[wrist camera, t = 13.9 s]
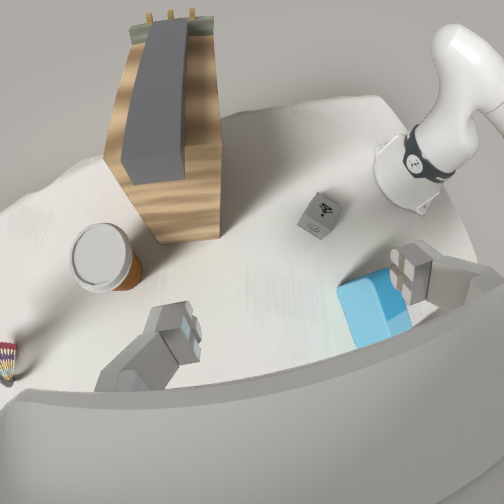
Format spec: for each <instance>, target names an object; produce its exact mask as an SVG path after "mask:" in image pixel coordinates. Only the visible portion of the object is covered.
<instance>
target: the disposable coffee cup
mask: <svg viewBox="0 0 504 504" xmlns="http://www.w3.org/2000/svg"><path fill="white" fill-rule="evenodd" d="M70 267H71V271H72V273H73V275H74V277H75V280H76V281H77V282H78V284H79V285H80V286H81V287H82V288H84V289H85V290H87V291H89V292H92V293H106V292H109V291H126V290H130V289H132V288H134V287H135V286H136V285H137V284H138V283H139V281H140V279H141V276H142V267H141V264H140V262H139V260H138V259H137V257H136V255H135V254H134V252H133V250H132V247H131V243H130V240H129V238H128V237H127V235H126V234H125V232H124V231H123V230H122V229H120V228H119V227H118V226H116V225H113V224H110V223H98V224H93V225H90V226H88V227H86V228H85V229H84V230H82V231H81V232H80V233H79V234H78V236H77V237H76V238H75V240H74V242H73V244H72V247H71V251H70Z"/></svg>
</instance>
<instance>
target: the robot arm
mask: <svg viewBox="0 0 504 504" xmlns="http://www.w3.org/2000/svg"><path fill="white" fill-rule="evenodd" d="M430 47H431V50H430V51H431V57H432V61H433V63H434V66H435V68H436V71H437V74H438V79H439V94H438V98H437V101H436V103H435V105H434V107H433V108H432V110H431V111H430V112H429V114H428V115H427V116H426V117H425V119H424V120H423V121H422V122H421V123H420V124H418V125H416V126H415V127H413V128H412V129H411V130H410V131H409V132H408V133H406V134H404V135H402V134H400V135H397V136H395V137H394V138H393V139H392V140H391V141H390V142H389V143H388V144H381V145H377V146H376V147H375V148H374V153H375V157H376V160H375V165H374V171H375V176H376V180H377V182H378V184H379V186H380V188H381V190H382V191H383V192H384V194H385V195H386V196H387V197H388V198H389V199H390V200H391V201H392V202H393V203H395V204H396V205H398V206H400V207H402V208H405V209H410V210H413V211H415V212H416V213H418V214H419V215H424V214H425V213H426V211H427V210H428V208H429V206H430V205H431V203H432V201H433V200H434V198H435V196H437V195H438V194H439V193H440V189H441V187H442V185H443V183H444V181H445V180H448V179H449V178H450V177H451V176H452V175H453V174H454V173H455V171H456V169H458V168H459V167H460V166H462V165H463V164H464V163H465V162H467V161H468V160H470V159H471V158H472V157H473V156H475V154H476V153H477V151H478V148H479V135H478V132H477V128H476V125H475V123H474V121H473V118H472V114H473V113H474V112H475V111H477V110H479V111H480V112H481V113H483V114H484V116H485V117H486V118H487V119H488V120H489V121H490V122H491V123H492V125H493V126H494V127H495V128H496V129H497V131H498V132H499V133H500V134H501V135H502V136H503V138H504V59H503V58H502V57H501V56H500V55H499V54H498V53H497V52H496V51H495V50H494V49H493V48H492V47H491V46H490V45H489V44H488V43H487V42H486V41H485V40H484V39H482V38H481V37H479V36H478V35H476V34H475V33H474V32H472V31H470V30H469V29H467V28H466V27H464V26H462V25H460V24H448V25H445V26H443V27H441V28H440V29H438V30H437V31H436V33H435V34H434V36H433V38H432V41H431V46H430ZM390 259H391V261H392V262H393V264H392V266H391V267H390V279H391V282H392V284H393V286H394V287H395V289H396V290H399V291H401V292H402V297H403V298H404V299H405V301H406V302H407V303H408V304H409V305H413V304H415V303H418V302H421V301H424V300H426V301H428V302H430V303H432V304H434V305H436V306H438V307H440V308H442V309H444V310H446V311H448V313H446V314H444V315H442V316H440V317H437V318H435V319H433V320H431V321H429V322H426V323H424V324H422V325H419V326H417V327H415V328H412V329H410V330H408V331H405V332H403V333H400V334H398V335H395V336H392V337H390V338H387V339H384V340H382V341H379V342H376V343H373V344H371V345H368V346H365V347H362V348H359V349H356V350H353V351H350V352H347V353H344V354H340V355H337V356H334V357H331V358H327V359H324V360H320V361H317V362H313V363H309V364H306V365H302V366H298V367H294V368H290V369H286V370H282V371H277V372H273V373H268V374H264V375H259V376H254V377H249V378H244V379H238V380H232V381H227V382H220V383H214V384H207V385H200V386H192V387H183V388H174V389H164V388H165V387H166V385H167V384H168V382H169V381H170V380H171V378H172V377H173V375H174V374H175V372H176V371H177V369H178V368H179V365H184V364H190V363H196V362H200V352H201V348H200V346H199V343H200V342H201V339H202V334H201V327H200V324H199V321H198V319H197V318H196V317H195V316H193V315H192V312H193V308H192V306H191V304H190V302H188V301H183V302H178V303H173V304H167V305H162V306H157V307H153V308H151V310H150V313H149V316H148V319H147V322H146V325H145V329H144V332H143V335H139V336H138V337H137V338H136V339H135V340H134V341H132V342H131V343H130V344H129V345H128V346H127V347H126V348H125V349H124V350H123V351H122V352H121V353H120V354H119V355H118V356H117V357H115V358H114V359H113V360H112V361H111V362H110V363H109V364H108V365H107V366H106V367H105V368H104V369H103V370H102V371H101V373H100V376H99V378H98V381H97V384H96V387H95V390H94V392H68V391H52V390H40V389H32V388H30V389H25V390H23V391H22V392H20V393H19V394H17V395H16V396H15V397H14V398H13V399H11V400H10V401H9V402H8V403H7V404H6V405H5V406H4V407H3V408H2V409H1V410H0V504H504V278H503V277H502V276H501V275H500V274H499V273H498V272H496V271H495V270H494V269H493V268H491V267H487V266H483V265H480V264H476V263H473V262H469V261H465V260H461V259H458V258H454V257H450V256H445V257H444V256H443V255H442V254H440V253H439V252H438V251H437V250H435V249H434V248H433V247H432V246H430V245H429V244H428V243H426V242H425V241H424V240H419V241H416V242H413V243H411V244H408V245H405V246H401V247H398V248H395V249H392V250H391V254H390Z"/></svg>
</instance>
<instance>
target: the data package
mask: <svg viewBox="0 0 504 504" xmlns="http://www.w3.org/2000/svg"><path fill="white" fill-rule="evenodd" d="M337 295H338V298H339V300H340V303H341V306H342V309H343V311H344V314H345V317H346V320H347V322H348V325H349V328H350V331H351V334H352V337H353V340H354V343H355V345H356V346H357V348H358V349H359V348H362V347H365V346H368V345H371V344H373V343H376V342H379V341H382V340H384V339H387V338H390V337H392V336H395V335H398V334H400V333H403V332H405V331H408V330H410V329H412V328H413V327H412V324H411V321H410V317H409V314H408V311H407V308H406V305H405V302H404V299H403V297H402V293H401V291H399V290H396V289H395V287H394V286H393V284H392V282H391V279H390V269H389V268H384V269H381V270H378V271H375V272H373V273H370V274H367V275H364V276H362V277H359V278H356V279H354V280H352V281H350V282H348V283H345V284H343V285H341V286H339V287H338V288H337Z"/></svg>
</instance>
